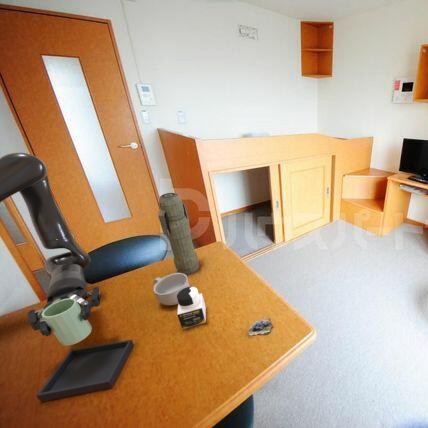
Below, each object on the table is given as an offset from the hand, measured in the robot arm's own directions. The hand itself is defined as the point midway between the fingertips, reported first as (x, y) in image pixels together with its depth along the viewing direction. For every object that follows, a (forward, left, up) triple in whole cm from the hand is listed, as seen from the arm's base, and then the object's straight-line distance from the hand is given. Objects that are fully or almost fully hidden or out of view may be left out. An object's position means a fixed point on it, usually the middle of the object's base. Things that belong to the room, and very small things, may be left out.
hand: (66, 324), depth 58 cm
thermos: (+14, +42, -18) cm, 47 cm away
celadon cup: (-1, +2, -6) cm, 6 cm away
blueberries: (+45, +4, -18) cm, 48 cm away
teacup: (+13, +25, -18) cm, 33 cm away
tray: (0, 0, -17) cm, 18 cm away
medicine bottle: (+23, +13, -18) cm, 32 cm away
